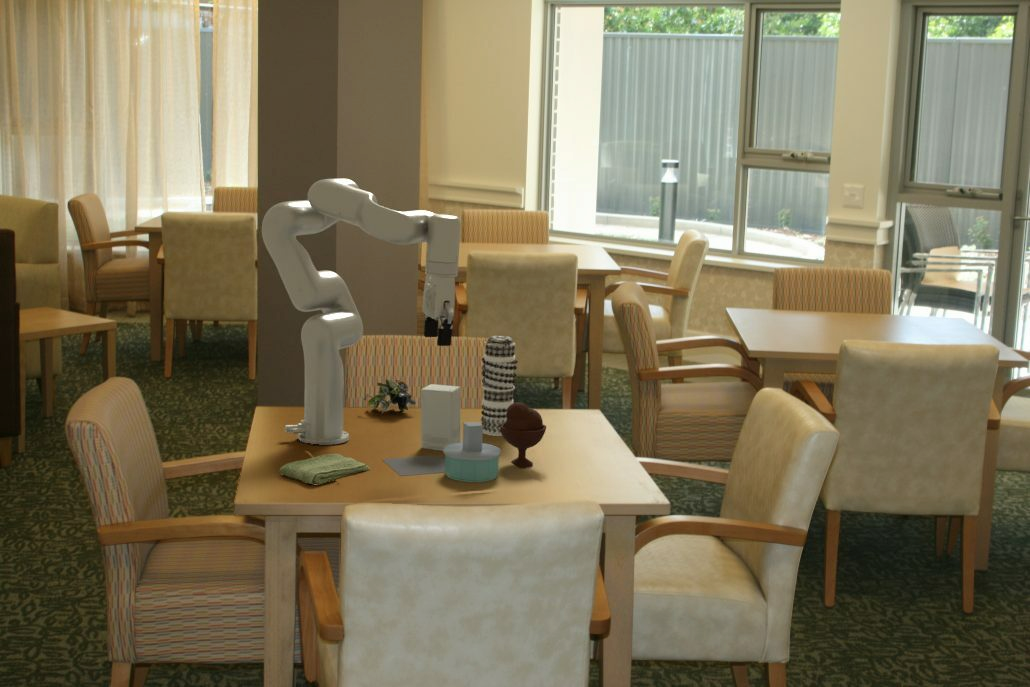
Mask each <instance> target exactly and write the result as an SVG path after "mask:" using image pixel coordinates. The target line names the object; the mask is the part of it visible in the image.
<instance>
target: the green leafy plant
mask: <svg viewBox="0 0 1030 687" xmlns="http://www.w3.org/2000/svg"><path fill="white" fill-rule="evenodd" d="M376 384H377V386H378V388H379V391H378V394H376V395H374V396H371V395H369V393H366V394H365V396H364V398H363V401H367V397H369V400H368V401H367V405H368V407H370V406H371V405H373V410H377V408H378V407H379V406H380V403H381V404H382V412H381V413H380V416H382V415H383V414H384V412H385V411H386V410H387V409H388V408H390V404H391V403H392V404H393V405H397V406H398V410H399V411H400V412H404V411H405V410H406V411H408V410H409V408H408V404H411V405H416V403H417V402H416V401H414V400H413V399H412V394H411V393H409V392H407V391H408V389H409V386H408V385H407V383H405V381H402V380H401V379H395V381H393V380H390V378H387V379H385V382H384V383H382V382H379V381H377V382H376ZM387 396H389V400H386V397H387Z"/></svg>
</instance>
